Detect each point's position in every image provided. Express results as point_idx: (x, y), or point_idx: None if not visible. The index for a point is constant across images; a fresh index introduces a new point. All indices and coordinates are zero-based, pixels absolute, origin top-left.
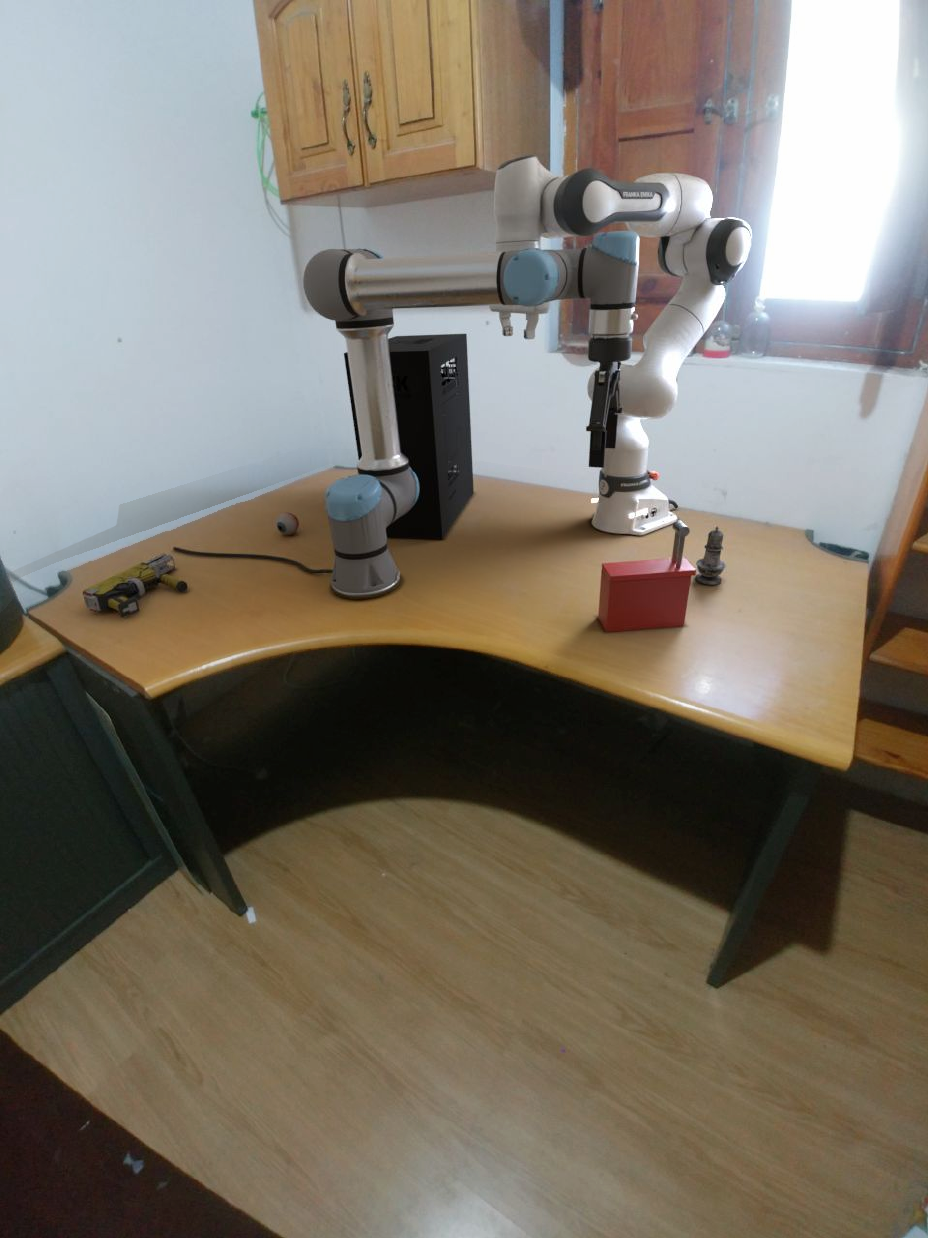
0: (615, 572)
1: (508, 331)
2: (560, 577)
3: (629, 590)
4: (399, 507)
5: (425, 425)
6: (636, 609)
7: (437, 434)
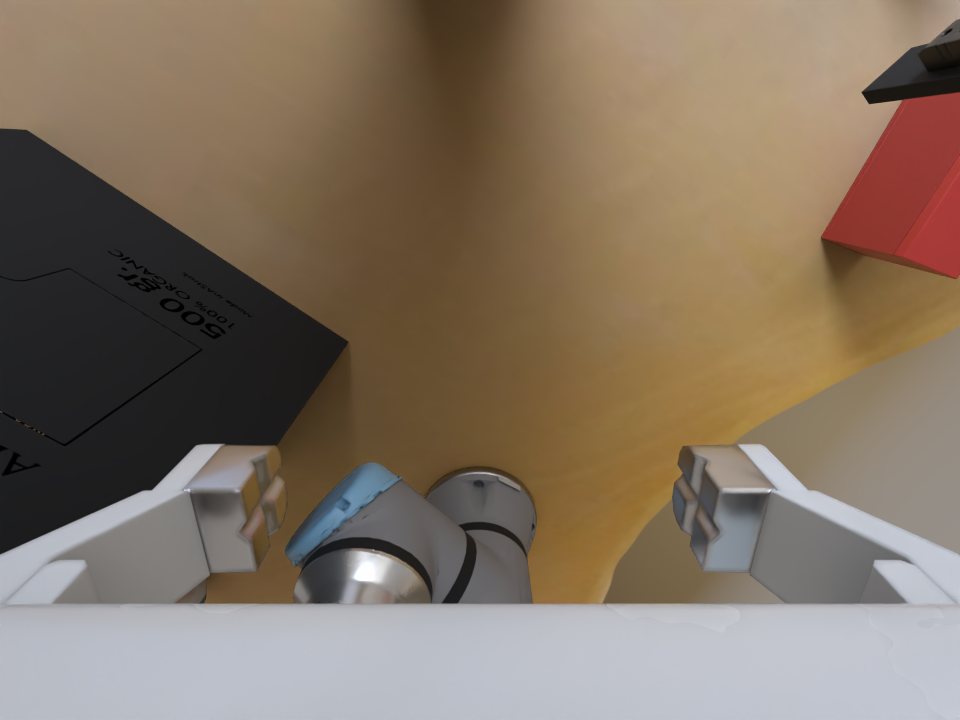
0: (953, 260)
1: (263, 506)
2: (651, 209)
3: None
4: (456, 531)
5: None
6: None
7: None
